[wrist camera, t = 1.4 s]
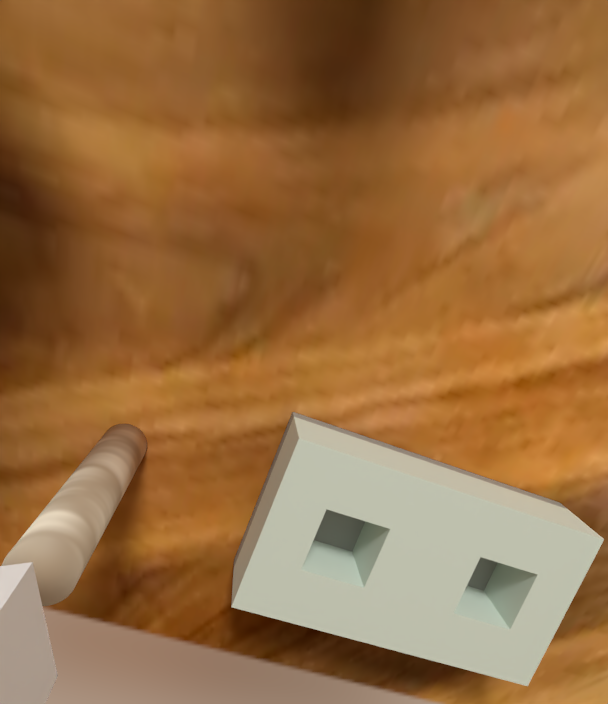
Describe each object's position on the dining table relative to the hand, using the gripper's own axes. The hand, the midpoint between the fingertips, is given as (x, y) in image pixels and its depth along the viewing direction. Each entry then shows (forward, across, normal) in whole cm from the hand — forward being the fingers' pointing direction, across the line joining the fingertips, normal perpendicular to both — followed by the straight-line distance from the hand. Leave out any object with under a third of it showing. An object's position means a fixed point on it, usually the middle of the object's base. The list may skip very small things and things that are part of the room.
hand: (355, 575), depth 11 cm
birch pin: (+24, -11, -6) cm, 27 cm away
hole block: (+24, +8, -15) cm, 29 cm away
